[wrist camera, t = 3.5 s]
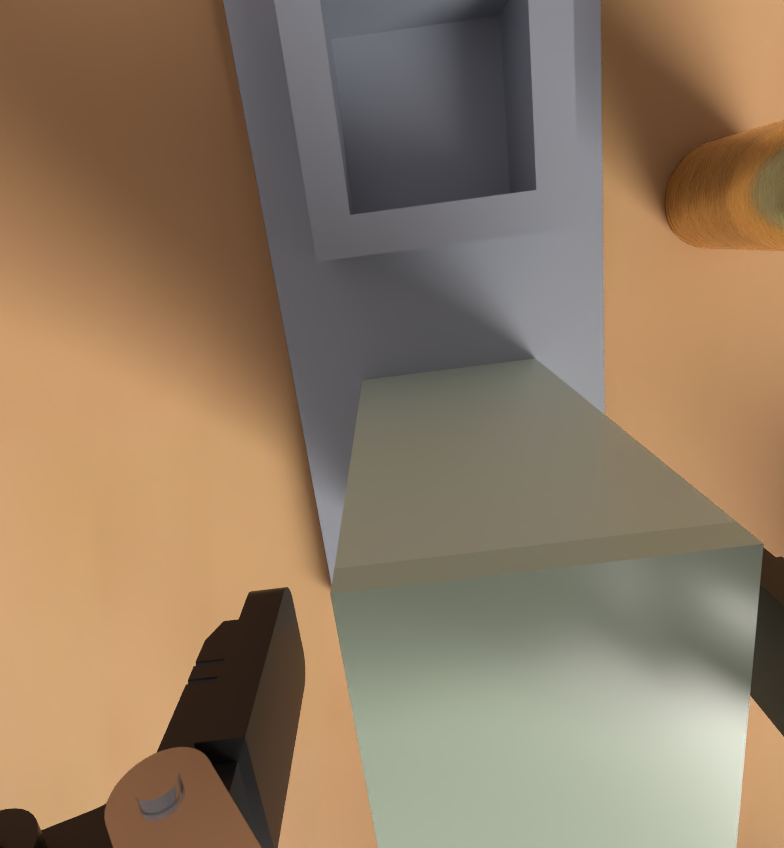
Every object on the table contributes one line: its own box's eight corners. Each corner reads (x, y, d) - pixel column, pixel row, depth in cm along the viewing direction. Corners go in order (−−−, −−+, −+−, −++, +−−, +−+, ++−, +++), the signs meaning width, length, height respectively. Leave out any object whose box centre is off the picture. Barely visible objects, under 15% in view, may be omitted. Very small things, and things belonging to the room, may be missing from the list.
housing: (535, 358, 18) (763, 543, 7) (542, 513, 20) (735, 852, 9) (362, 380, 18) (330, 594, 7) (384, 533, 20) (385, 888, 9)
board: (583, -145, 15) (929, -803, 6) (594, 566, 22) (758, 823, 12) (215, -90, 16) (-64, -626, 6) (339, 596, 22) (305, 870, 13)
